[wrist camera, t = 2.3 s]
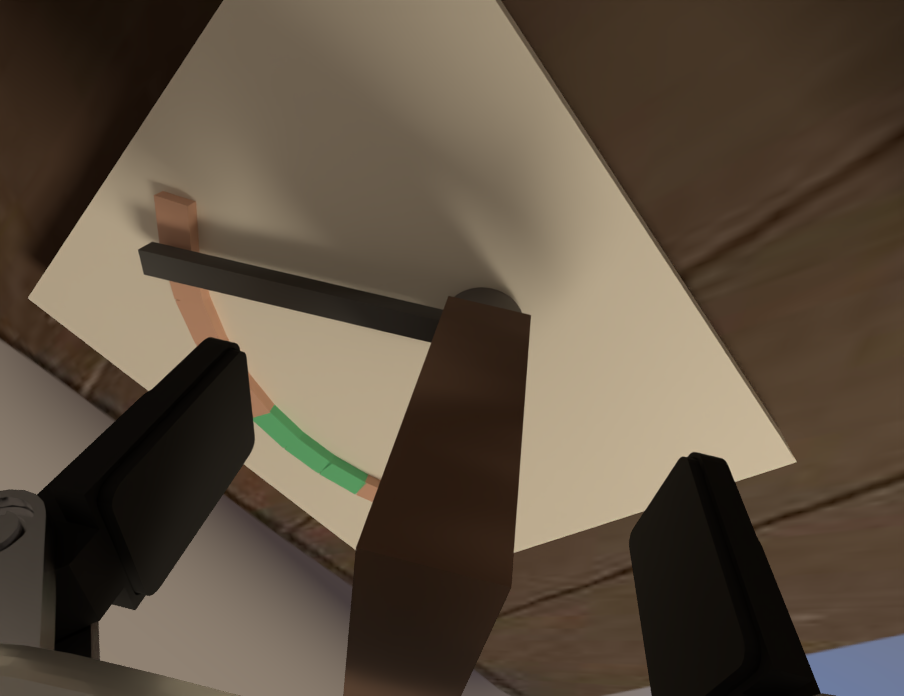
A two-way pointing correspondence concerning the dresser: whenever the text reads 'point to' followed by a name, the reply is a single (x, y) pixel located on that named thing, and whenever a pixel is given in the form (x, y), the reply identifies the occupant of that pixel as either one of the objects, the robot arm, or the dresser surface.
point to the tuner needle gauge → (418, 473)
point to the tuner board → (405, 256)
